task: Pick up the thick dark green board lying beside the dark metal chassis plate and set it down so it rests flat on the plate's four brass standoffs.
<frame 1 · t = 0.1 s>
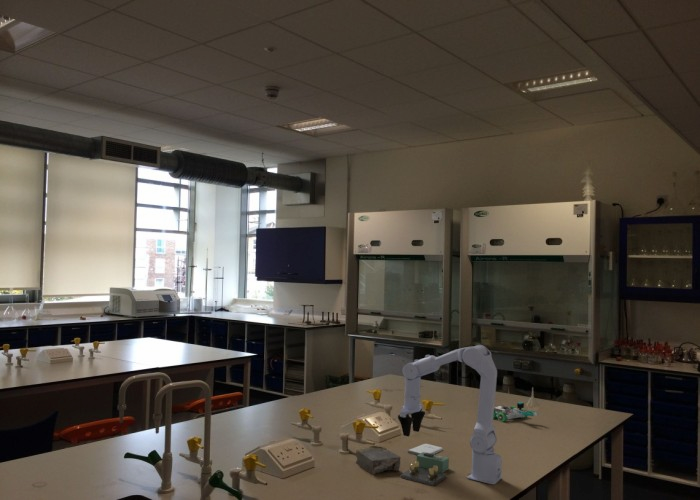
hand: (411, 433, 207), 10 cm above the worktop, tool pointing down, fingers open, 7 cm apart
chassis: (423, 477, 191), on the worktop
geological specimen: (376, 468, 200), on the worktop
external hard drive: (425, 453, 219), on the worktop
robot kit: (515, 420, 272), on the worktop
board: (432, 468, 201), on the worktop
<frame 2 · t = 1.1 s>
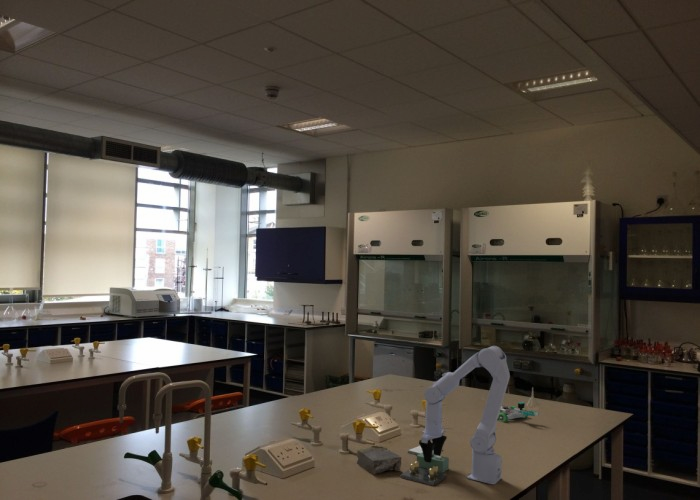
hand: (432, 459, 201), 3 cm above the worktop, tool pointing down, fingers open, 7 cm apart
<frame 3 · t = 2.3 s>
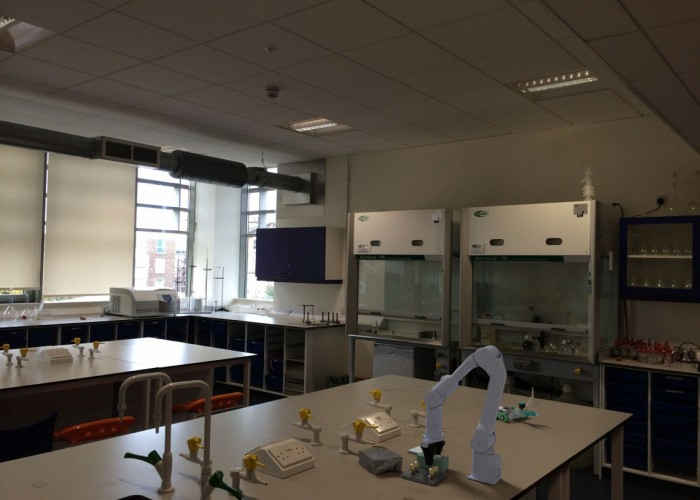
hand: (432, 463, 201), 1 cm above the worktop, tool pointing down, fingers closed on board, 5 cm apart
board: (432, 467, 201), on the worktop, touching gripper
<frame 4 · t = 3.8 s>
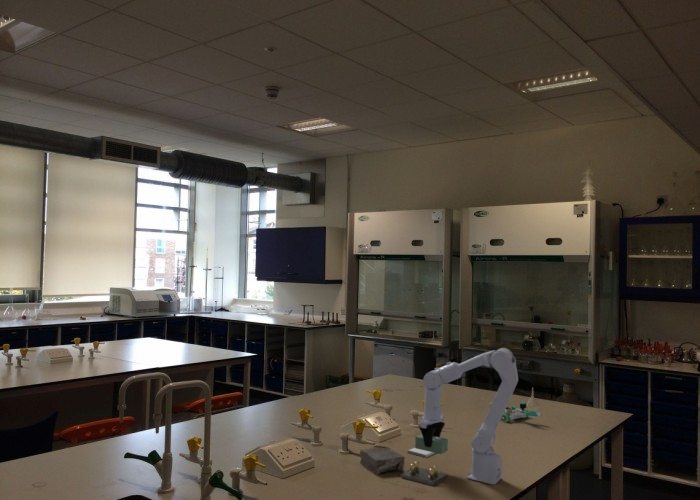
hand: (431, 444, 200), 8 cm above the worktop, tool pointing down, fingers closed on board, 5 cm apart
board: (431, 449, 200), point 7 cm above the worktop, touching gripper
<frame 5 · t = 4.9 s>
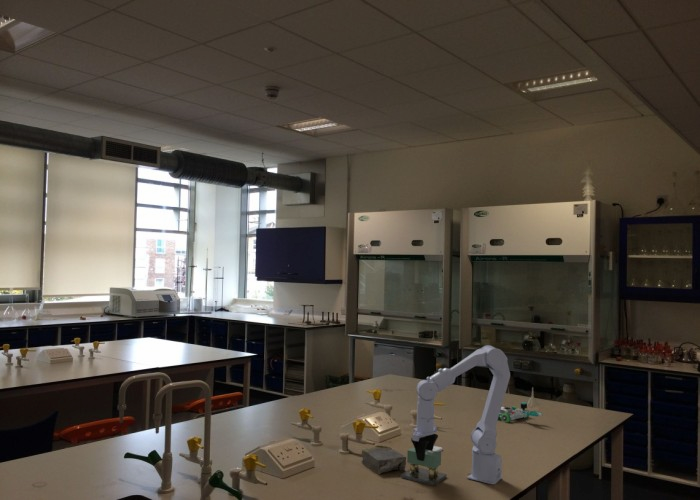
hand: (424, 458, 191), 6 cm above the worktop, tool pointing down, fingers closed on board, 5 cm apart
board: (423, 463, 191), point 5 cm above the worktop, touching gripper
when the fingers open (6 cm above the worktop, at t = 5.7 s): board stays where it is, resting on chassis.
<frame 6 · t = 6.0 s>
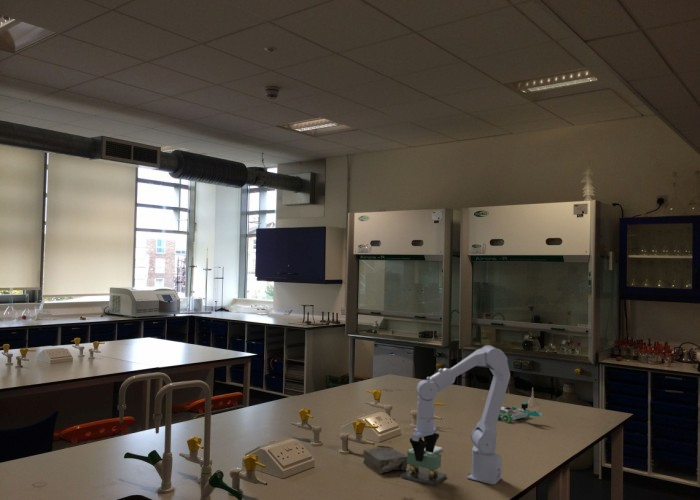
hand: (424, 458, 191), 6 cm above the worktop, tool pointing down, fingers open, 7 cm apart
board: (423, 465, 191), point 4 cm above the worktop, touching chassis
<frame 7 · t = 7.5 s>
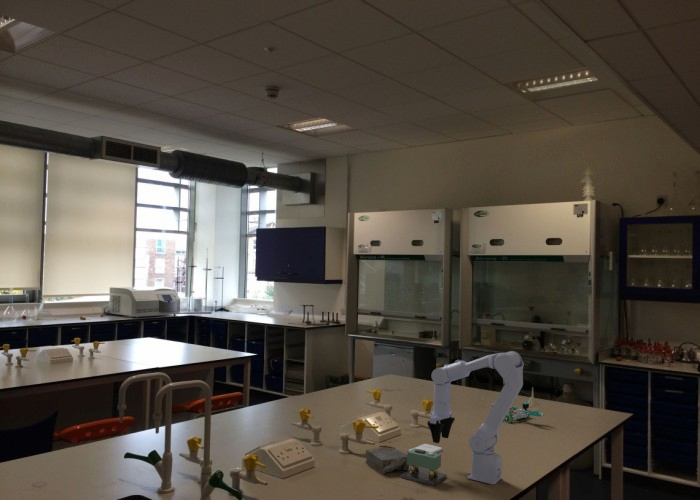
hand: (440, 440, 202), 9 cm above the worktop, tool pointing down, fingers open, 7 cm apart
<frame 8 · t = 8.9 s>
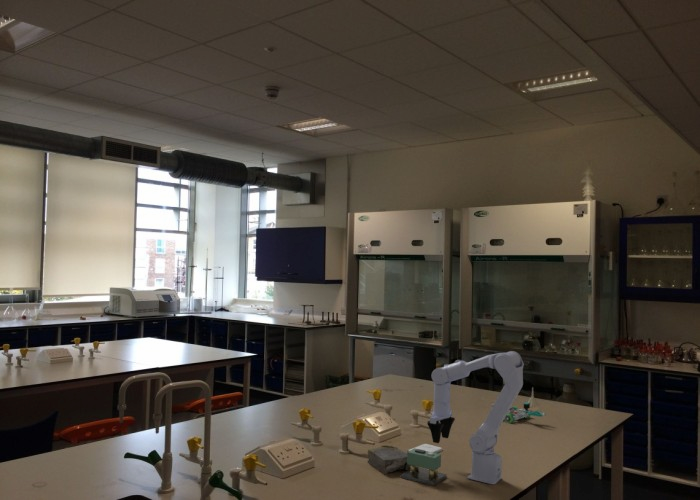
hand: (440, 440, 202), 9 cm above the worktop, tool pointing down, fingers open, 7 cm apart
at the end: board 0.0 cm off-centre on the chassis, point 4.0 cm above the chassis's base; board tilted 0°; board touching chassis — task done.
